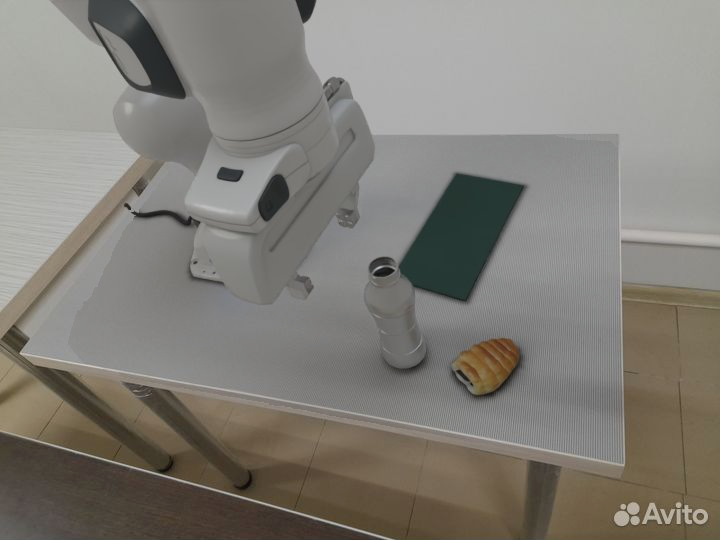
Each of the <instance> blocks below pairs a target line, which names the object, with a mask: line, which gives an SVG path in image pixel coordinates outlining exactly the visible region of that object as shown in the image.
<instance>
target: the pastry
mask: <svg viewBox="0 0 720 540" xmlns="http://www.w3.org/2000/svg"><path fill="white" fill-rule="evenodd" d="M519 359H520V351H519V347H518V346H517V344H515V343H514V341H513V339H511V338H505V337H499V338H490V339H488V340H486V341H485V340H482V341H480V342H479V343H478V344H473V345H471V347H470V348H469V349H468V350H462V351H460V353H459V355H458V356H457V358H456V359H455V360H454V361H452V362H451V364H450V365H451V370H452V371H453V372H454V373H455V376H456V378H457V379H458V380H459V381H460V382H461V383H462V384H464V385H465V386H466V388H467V390H468V391H469V392H470V393H471V394H473V395H475V396H482V395H485V394H490V393H493V392H494V391H496V390H497V389H499V388H500V387H501V385H502V384H503V383H504V382H505V381H506V380H507V379H508V377H510V375H511V373H513V371H514V369H515V368H516V366H517V365H518V363H519Z"/></svg>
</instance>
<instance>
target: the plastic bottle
mask: <svg viewBox="0 0 720 540" xmlns="http://www.w3.org/2000/svg"><path fill="white" fill-rule="evenodd" d="M367 274H368V282H367V283H366V284H365V287H364V292H363V301H364V303H365V306H366V308H367V310H368V312H369V313H370V315H371V316H372V318H373V319H374V323H375V324H376V327H377V329H378V335H379V348H380V349H379V351H380V354H381V356H382V357H383V359H384V360H385V362H386V363H387V364H389V366H392V367H393V368H396V369H402V370H403V369H405V370H406V369H410V368H414V367H415V366H417V365H419V364H420V363H421V362H422V361H423V359H424V357H425V356H426V353H427V341H426V337H425V335H424V333H423V331H422V330H421V328H420V325H419V323H418V320H417V313H416V292H415V286H413V285H412V283H411V282H410V280H409V279H408V278H407V277H406V276H404V275H402V274H401V273H400V269H399V264H398V262H397V260H396V259H395V258H393V257H392V256H389V255H380V256H377V257H374V258H373V259H372V260H370V262H369V264H368V265H367Z"/></svg>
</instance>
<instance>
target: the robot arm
mask: <svg viewBox="0 0 720 540" xmlns="http://www.w3.org/2000/svg"><path fill="white" fill-rule="evenodd" d="M48 1H49V2H50V3H51V4H52V5H53V6H54V7H55V8H56V9H57V10H58V11H59V12H60V13H61V14H62V15H63V16H65V18H66V19H67V20H68V21H70V22H71V24H72V25H73V26H74V27H76V28H77V29H78V31H79V32H80V33H82V34H83V36H84V37H86V39H87V40H89V41H90V42H92V43H93V44H95V45H97V46H98V47H102V48H104V49H105V51H106V53H107V55H108V56H109V58H110V59H111V61H112V62H113V64H114V66H115V67H116V69H117V70H118V72H119V73H120V75H121V76H122V78H123V79H124V81H125V82H126V83H127V84H128V85H127V86H126V88H125V89H124V90H123V92H122V94H121V95H120V96H119V98H118V100H117V101H116V102H115V103H114V105H113V108H112V117H113V118H112V119H113V123H114V126H115V130H116V131H117V133H118V135H119V137H120V138H121V140H122V141H123V142H124V144H125V145H127V147H128V148H129V149H130V150H132V151H133V152H135V153H136V154H137V155H139V156H141V157H143V158H145V159H147V160H150V161H154V162H159V163H160V162H161V163H176V164H180V165H181V166H183V167H185V169H187V170H189V172H191V173H192V175H193V176H194V179H193V181H192V182H191V185H190V186H189V188H188V191H187V193H186V195H185V197H184V202H183V203H184V209H185V210H186V212H187V213H188V215H189V216H188V218H187V220H185V219H183V218H182V217H181V216H180V215H178V214H177V213H176V212H174V211H171V210H167V209H160V210H154V211H149V212H137V211H135V210H134V212H130V213H131V214H132V215H134V216H135V217H141V218H142V217H143V218H144V217H151V216H157V215H162V214H163V215H171V216H172V217H174V218H175V219H176V220H177V221H179V223H181V224H183V225H186V226H187V225H190V224H191V223H192V222H193V223H194V225H195V227H196V231H195V233H194V237H193V251H192V255H191V258H190V264H189V267H190V272H191V275H192V276H193V277H195V278H198V279H202V280H203V279H204V280H209V281H214V282H221V283H223V285H224V286H225V288H226V289H227V290H228V291H229V293H230V294H231V295H232V296H233V297H235V298H237V299H239V300H241V301H244V302H247V303H250V304H254V305H257V306H270V305H273V304H274V303H275V302H276V301H277V299H278V298H279V296H280V295H281V293H282V292H283V291H284V289H285V288H286V290H287V291H288V293H289V295H290V296H291V297H293V298H294V299H297V300H301V301H306V300H308V297H309V296H310V294H311V293H312V291H313V289H314V285H313V284H312V280H311V278H310V277H309V276H306V275H300V274H299V273H298V270H299V268H300V267H301V265H302V263H303V262H304V261H305V259H306V258H307V256H308V255H309V254H310V252H311V250H312V249H313V248H314V246H315V245H316V243H317V241H318V240H319V239H320V237H321V236H322V234H323V233H324V232H325V230H326V229H327V227H328V226H329V225H330V223H331V222H332V220H333V218H334V217H335V218H336V219H337V223H338V224H339V226H340V227H343V228H348V229H353V228H355V226H356V225H357V224H358V221H359V220H360V219H361V215H360V212H359V208H358V206H359V195H360V184H359V181H360V180H361V179H362V177H363V176H364V174H365V173H366V171H367V170H368V168H369V167H370V166H371V164H372V163H373V161H374V159H375V153H376V150H375V149H376V145H375V140H374V137H373V133H372V131H371V129H370V126H369V123H368V120H367V118H366V115H365V113H364V111H363V109H362V107H361V105H360V104H359V103H358V101H357V100H356V99H354V97H353V92H352V89H351V85H350V83H349V81H348V80H345V79H344V78H342V77H336V76H331V77H329V78H328V79H327V80H326V81H325V82H324V83H322V81H321V79H320V77H319V74H318V73H317V72H316V70H315V68H314V67H313V66H312V64H311V62H310V60H309V57H308V54H307V49H306V32H305V26H304V24H306V23H307V22H308V21H309V20H310V19H311V18H312V15H313V13H314V11H315V8H316V3H317V0H48ZM123 207H124V208H126V209H127V210H128V211H129V210H131V208H132V206H131V205H130V204H129V203H128V202H125V203H124V204H123Z"/></svg>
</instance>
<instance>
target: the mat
mask: <svg viewBox="0 0 720 540" xmlns="http://www.w3.org/2000/svg"><path fill="white" fill-rule="evenodd" d="M523 189H524V184H518V183H513V182H507V181H501V180H496V179H490V178H485V177H481V176H474V175H468V174H463V173H455V175H454V176H453V178H452V180H451V182H450V183H449V185H448V187H447V188H446V190H445V191H444V193H443V195H442V196H441V198H440V199H439V201H438V203H437V204H436V206H435V208H434V209H433V210H432V212H431V214H430V215H429V217H428V219H427V221H426V222H425V224H424V225H423V226H422V228H421V230H420V231H419V233H418V235H417V236H416V238H415V240H414V241H413V243H412V244H411V246H410V247H409V250H408V251H407V253H406V254H405V256H404V257H403V259H402V261H401V262H400V264H398V267H399V269H400V273H401V274H402V275H404V276H406V277H407V278H408V279H409V280H410V282H411V283H412V285H413V287H414V288H415V287H416V288H419V289H422V290H425V291H430V292H432V293H436V294H438V295H439V294H440V295H443V296H446V297H450V298H453V299H456V300H460V301H463V302H466V301H467V299H468V297H469V295H470V293H471V291H472V289H473V287H474V285H475V283H476V281H477V279H478V277H479V276H480V273H481V272H482V269H483V268H484V266H485V264H486V262H487V260H488V258H489V256H490V254H491V252H492V250H493V248H494V246H495V244H496V242H497V240H498V238H499V236H500V234H501V232H502V230H503V228H504V226H505V224H506V222H507V220H508V218H509V216H510V214H511V212H512V210H513V208H514V206H515V204H516V202H517V201H518V198H519V196H520V194H521V193H522V191H523Z"/></svg>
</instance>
